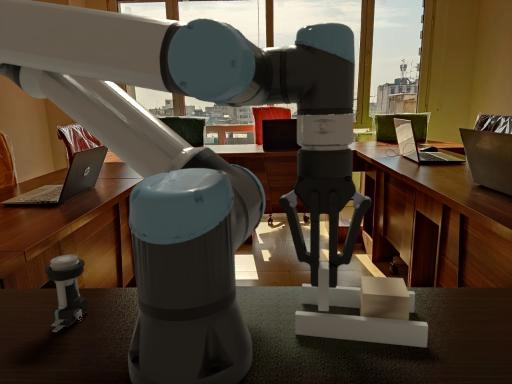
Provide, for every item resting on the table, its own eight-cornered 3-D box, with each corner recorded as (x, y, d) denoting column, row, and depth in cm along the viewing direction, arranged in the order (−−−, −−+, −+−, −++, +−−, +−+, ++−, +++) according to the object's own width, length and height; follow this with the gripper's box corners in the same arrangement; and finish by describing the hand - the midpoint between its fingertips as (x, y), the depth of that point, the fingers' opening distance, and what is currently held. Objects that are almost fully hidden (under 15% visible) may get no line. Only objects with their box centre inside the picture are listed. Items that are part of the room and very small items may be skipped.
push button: (70, 336, 53) (62, 270, 51) (37, 333, 54) (27, 268, 52) (97, 312, 60) (91, 253, 58) (67, 310, 60) (60, 251, 58)
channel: (295, 334, 52) (295, 314, 52) (302, 300, 62) (302, 283, 61) (426, 347, 48) (428, 326, 48) (412, 309, 58) (413, 291, 57)
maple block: (361, 333, 52) (362, 293, 51) (359, 312, 58) (360, 275, 57) (407, 338, 51) (410, 297, 50) (401, 315, 56) (402, 278, 55)
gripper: (272, 150, 49) (276, 315, 54) (376, 148, 46) (371, 323, 51) (281, 145, 56) (284, 291, 61) (372, 144, 53) (367, 298, 58)
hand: (323, 306), depth 56 cm, fingers closed
